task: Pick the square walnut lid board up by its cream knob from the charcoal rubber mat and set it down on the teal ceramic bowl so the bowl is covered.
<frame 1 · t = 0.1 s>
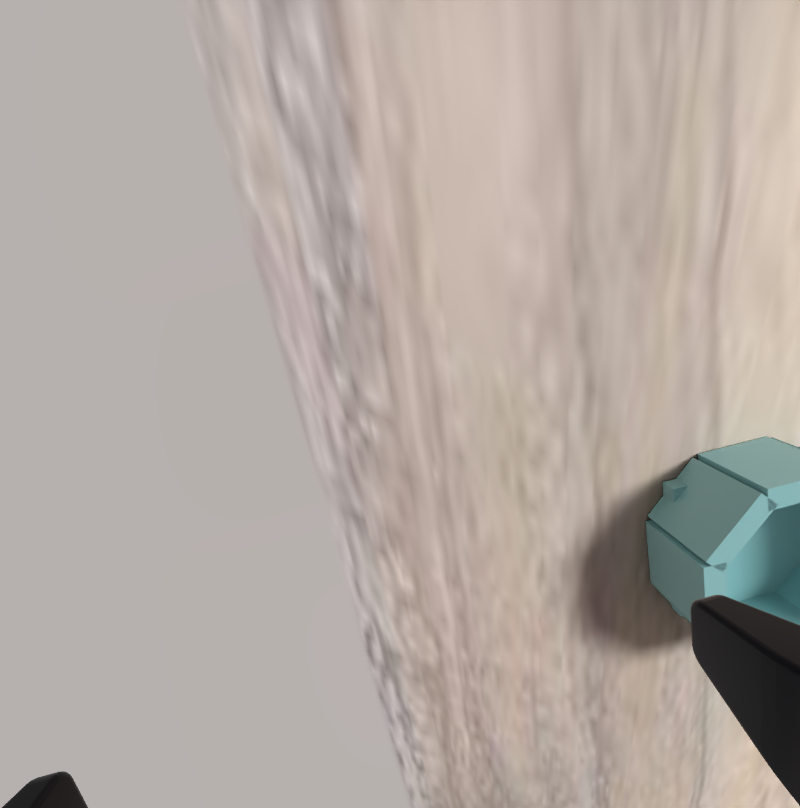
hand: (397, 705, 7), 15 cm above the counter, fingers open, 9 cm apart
bowl: (734, 529, 25), on the counter
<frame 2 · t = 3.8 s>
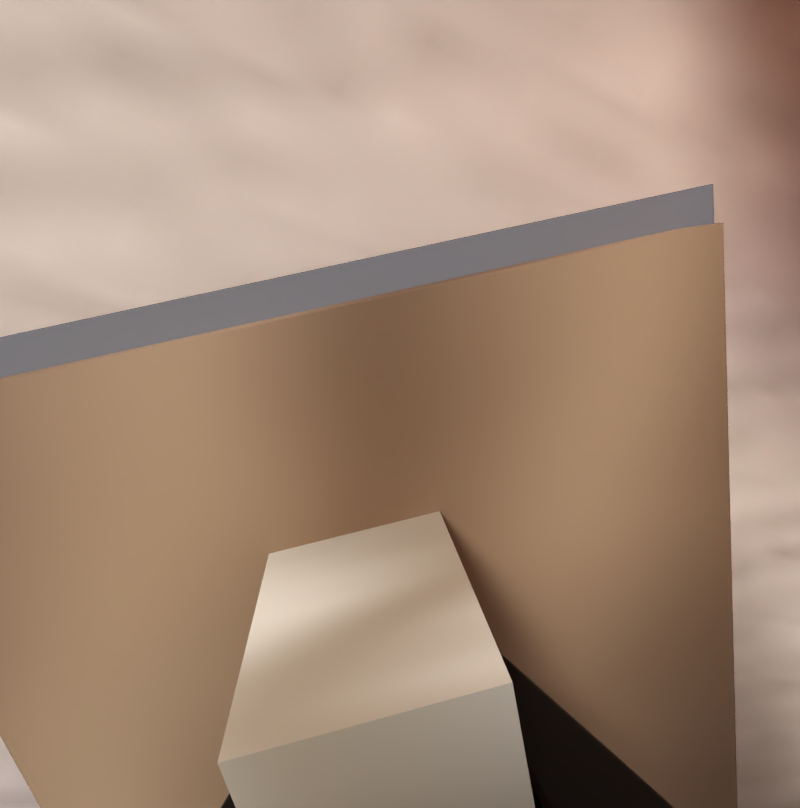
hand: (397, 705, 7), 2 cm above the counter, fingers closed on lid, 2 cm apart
mat: (382, 600, 9), on the counter
lid: (387, 638, 8), point 1 cm above the counter, touching gripper, mat
when the fingers open (7 cm above the counter, at t = 7.2 s): lid drops 1 cm, resting on bowl.
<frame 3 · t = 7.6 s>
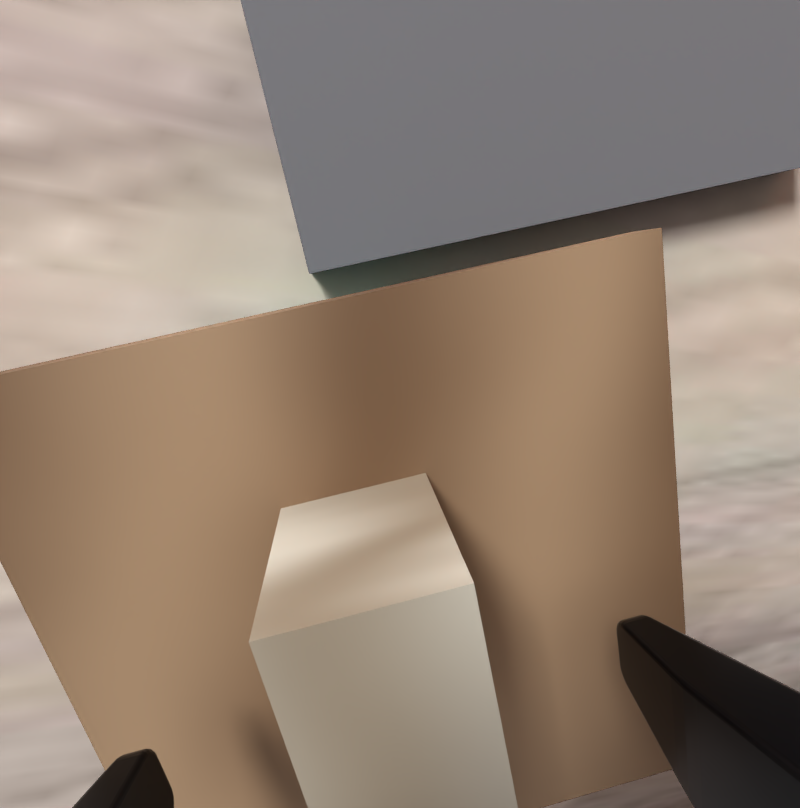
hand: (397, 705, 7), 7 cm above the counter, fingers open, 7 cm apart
lid: (382, 589, 9), point 4 cm above the counter, touching bowl
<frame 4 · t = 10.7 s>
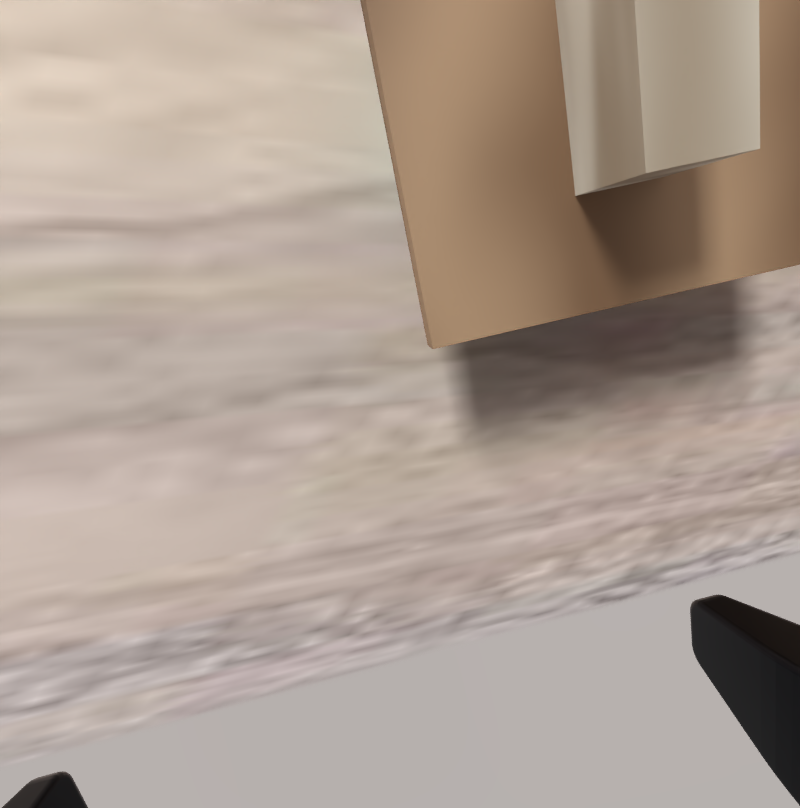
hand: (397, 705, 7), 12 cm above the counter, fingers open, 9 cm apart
lid: (594, 88, 13), point 4 cm above the counter, touching bowl
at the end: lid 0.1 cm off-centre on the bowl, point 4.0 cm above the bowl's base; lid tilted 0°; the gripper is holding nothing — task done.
